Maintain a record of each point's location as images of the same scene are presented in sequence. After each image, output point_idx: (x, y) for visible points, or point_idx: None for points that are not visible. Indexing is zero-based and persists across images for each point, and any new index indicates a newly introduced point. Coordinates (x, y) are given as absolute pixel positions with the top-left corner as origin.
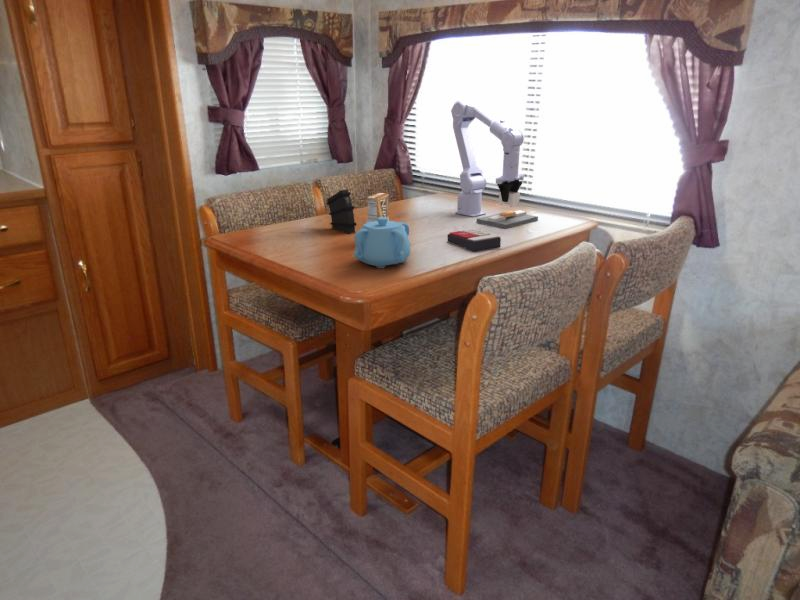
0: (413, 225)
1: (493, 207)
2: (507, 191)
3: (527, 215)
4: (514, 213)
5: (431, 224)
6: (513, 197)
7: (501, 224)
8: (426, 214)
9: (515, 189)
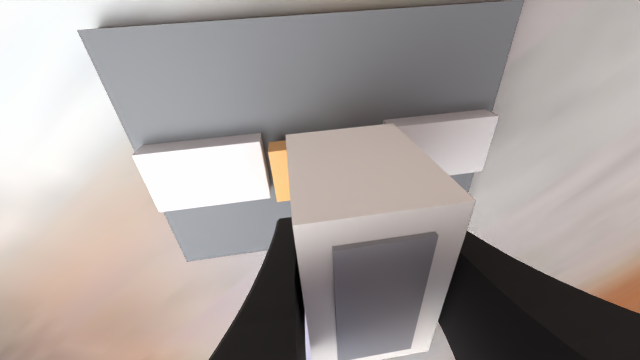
0: (599, 276)
1: (163, 353)
2: (547, 277)
3: (149, 119)
4: (284, 145)
5: (564, 263)
6: (432, 173)
7: (506, 46)
8: (440, 349)
9: (297, 334)
